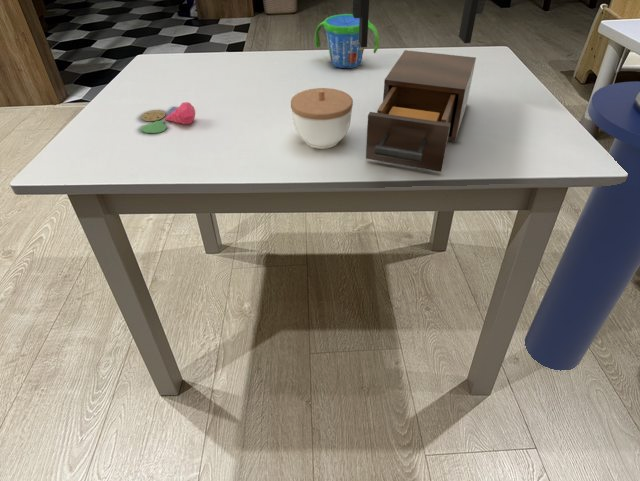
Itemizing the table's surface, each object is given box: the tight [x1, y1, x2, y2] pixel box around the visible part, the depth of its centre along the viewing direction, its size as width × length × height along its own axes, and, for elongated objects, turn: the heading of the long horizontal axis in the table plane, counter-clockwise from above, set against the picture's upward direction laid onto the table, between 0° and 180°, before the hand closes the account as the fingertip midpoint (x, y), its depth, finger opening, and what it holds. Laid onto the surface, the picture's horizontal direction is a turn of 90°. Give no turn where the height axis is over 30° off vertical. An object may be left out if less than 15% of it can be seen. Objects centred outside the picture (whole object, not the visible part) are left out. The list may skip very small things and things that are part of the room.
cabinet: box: [382, 49, 477, 143], centre depth 86 cm, size 16×14×10 cm
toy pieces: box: [140, 101, 196, 134], centre depth 89 cm, size 12×11×4 cm
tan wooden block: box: [389, 107, 440, 122], centre depth 76 cm, size 8×4×5 cm, turn 69°
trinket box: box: [290, 87, 354, 150], centre depth 80 cm, size 11×11×9 cm
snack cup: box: [314, 13, 380, 69], centre depth 109 cm, size 16×10×10 cm
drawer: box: [365, 86, 457, 173], centre depth 75 cm, size 20×13×8 cm, turn 159°
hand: (413, 42), depth 60 cm, fingers open, 13 cm apart
